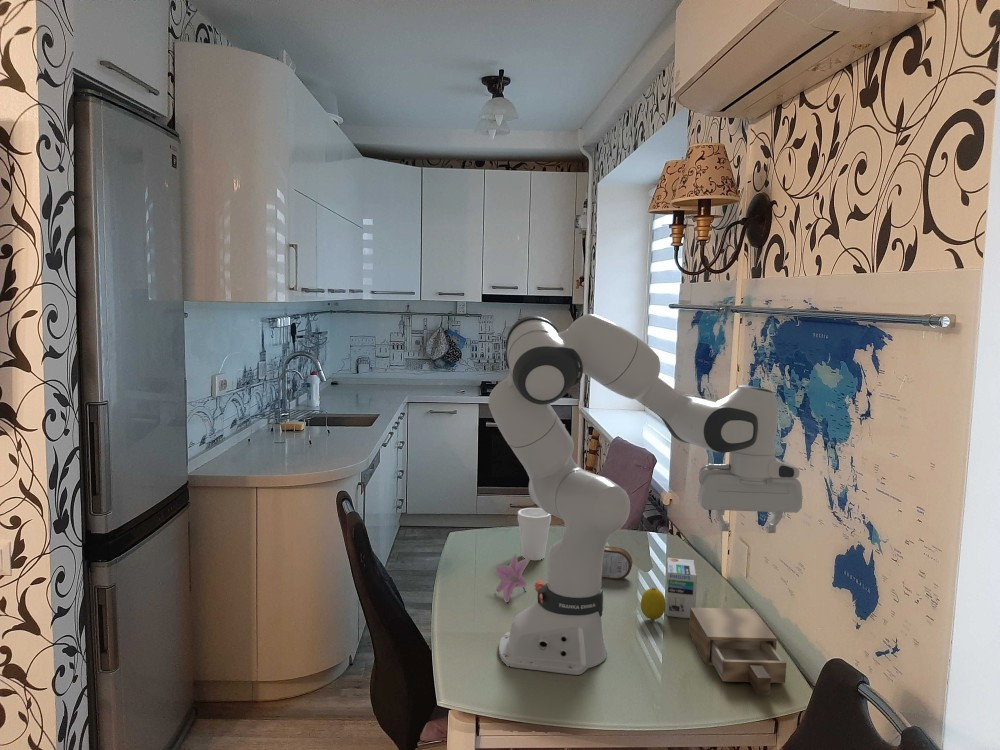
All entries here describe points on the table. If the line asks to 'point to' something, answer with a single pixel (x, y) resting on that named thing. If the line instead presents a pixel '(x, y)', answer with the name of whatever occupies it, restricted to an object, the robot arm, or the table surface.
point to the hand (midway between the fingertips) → (747, 531)
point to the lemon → (653, 603)
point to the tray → (748, 663)
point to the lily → (511, 576)
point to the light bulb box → (680, 587)
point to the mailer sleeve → (726, 628)
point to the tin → (616, 563)
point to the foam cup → (533, 532)
